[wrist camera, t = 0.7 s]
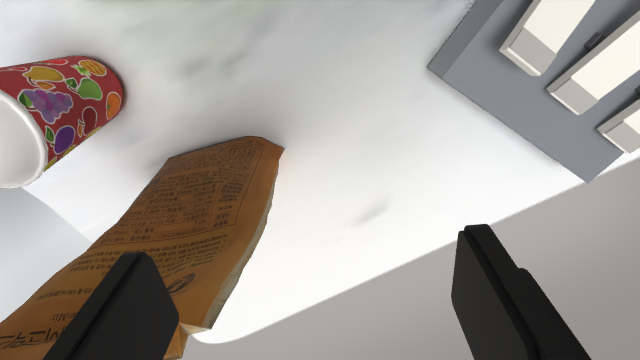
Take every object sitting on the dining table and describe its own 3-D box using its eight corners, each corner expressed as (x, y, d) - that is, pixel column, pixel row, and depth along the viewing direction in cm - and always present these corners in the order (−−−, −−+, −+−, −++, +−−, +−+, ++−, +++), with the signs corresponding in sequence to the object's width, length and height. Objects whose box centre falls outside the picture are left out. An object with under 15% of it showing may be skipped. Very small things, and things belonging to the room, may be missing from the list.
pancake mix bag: (128, 154, 40) (-185, 422, 15) (282, 108, 37) (200, 348, 12) (158, 201, 43) (-62, 484, 18) (301, 162, 40) (267, 437, 15)
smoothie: (36, 73, 35) (-248, 158, 18) (91, 27, 33) (-172, 72, 15) (100, 138, 38) (-85, 261, 21) (153, 100, 36) (-4, 204, 19)
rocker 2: (676, -21, 24) (688, -18, 23) (705, 9, 25) (717, 14, 24) (545, 88, 30) (551, 94, 29) (572, 109, 31) (578, 116, 30)
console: (577, -133, 27) (636, -161, 22) (717, 16, 32) (790, 21, 27) (426, 67, 34) (443, 80, 29) (558, 161, 39) (592, 186, 34)
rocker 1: (587, -78, 24) (602, -85, 23) (619, -46, 25) (635, -51, 24) (498, 50, 26) (508, 49, 25) (530, 75, 27) (541, 76, 26)
